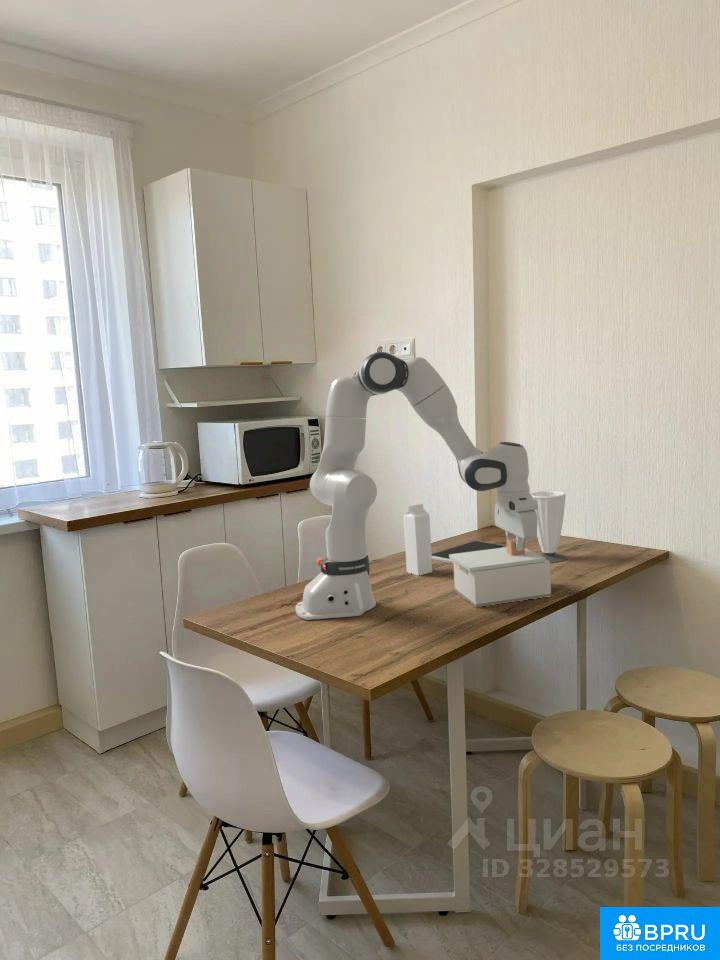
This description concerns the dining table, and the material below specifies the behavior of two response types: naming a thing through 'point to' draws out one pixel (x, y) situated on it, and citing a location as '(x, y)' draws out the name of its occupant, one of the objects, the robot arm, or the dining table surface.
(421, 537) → the milk
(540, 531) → the cup
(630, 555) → the dining table surface
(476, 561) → the lid
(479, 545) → the smartphone
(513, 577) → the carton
